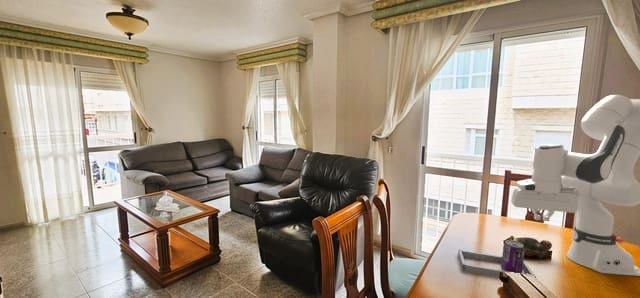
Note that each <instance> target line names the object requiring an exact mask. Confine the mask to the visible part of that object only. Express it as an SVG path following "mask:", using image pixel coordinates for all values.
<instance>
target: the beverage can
mask: <svg viewBox="0 0 640 298" xmlns="http://www.w3.org/2000/svg"><path fill="white" fill-rule="evenodd" d="M501 256H502V263H501V270H504V271H510V272H516V273H522V274H523V272H524V269H523V263H524V261H525V249H524V245H523V244H522V243H520V242H517V241H516V240H512V239H506V240H505V241H504V243H503V246H502V255H501Z"/></svg>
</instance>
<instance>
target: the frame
mask: <svg viewBox="0 0 640 298" xmlns="http://www.w3.org/2000/svg"><path fill="white" fill-rule="evenodd" d="M457 254H458V260H459V263H460V266H461V270H462V271H465V272H469V273H470V272H471V273H477V274H480V275H481V274H482V275H488V276H493V277H498V278H500V277H499V273H500V272H510V271H505V270H504V269H497V268H492V267H486V266H480V265H474V264H469V263H466V262H465V259H464V258H469V259H477V260H481V261H482V260H483V261H488V262H495V263H500V264H502V255H501V256H500V255H495V254H489V253H482V252H476V251H470V250H464V249H458V253H457ZM523 272H524V273H525V274H526V273H528V274H530V275H532V276H534V277H535V278H536V279H537V276H536V275H535V273H534V271H532V269H531V267H530V266H529V265H528V264H527V262H526V261H525V260H524V263H523ZM514 273H516V272H514Z"/></svg>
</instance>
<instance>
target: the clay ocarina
mask: <svg viewBox="0 0 640 298" xmlns="http://www.w3.org/2000/svg"><path fill="white" fill-rule="evenodd" d="M515 241H517V242H520V243H522V244H523V245H524V249H525V253H524V255H525V256H526V257H527V258H531V257H533V256H536V258H537V259H539V260H542V259H543V258H544V257H545V254H546V252H549V251H550V250H551V249H552V247H553V245H552V242H551V241H549V240H546V239H542V240H540V241H538V239H536V238H532V237H519V238H517V239H516V240H515Z"/></svg>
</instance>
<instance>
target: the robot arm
mask: <svg viewBox="0 0 640 298" xmlns="http://www.w3.org/2000/svg"><path fill="white" fill-rule="evenodd" d="M580 127H581V131H583V132H584V133H585V134H586V135H587V136H588V137H589V138H592V139H593V140H597V141H601V143H600V145H599V148H598V149H597V151H596V152H595V153H587V154H586V153H579V152H572V151H567V150H566V149H565V148H564V145H563V144H561V143H557V142H555V143H553V142H552V143H551V142H550V143H542V144H540V145H538V146H537V148H536V149H535V153H534V156H533V161H532V162H533V164H532V167H533V172H532V175H531V178H528V179H523V180H518V181H516V183H515V184H516V187H515V188H514V189H513V192H512V196H511V204H512V205H513V206H514V207H516V208H520V209H530V210H531V211H532V214H534V216H533V219H534V220H536V221H541V217H542V221H544V222H550V219H551V217H552V216H553V215H554V214H555V212H560V213H561V212H562V213H570V214H575V213H576V220H575V226H573V232H572V242H571V245H570V248H569V249H568V251H567V253H566V257H567V258H568V259H569V260H570V261H572V262H574V263H576V264H578V265H580V266H583V267H586V268H589V269H591V270H594V271H596V272H598V273H601V274H610V275H611V274H612V275H622V276H634V277H635V276H637V277H640V268H639V267H638V266H637V265H635V259H634V257H633V255H631V254H630V253H629V252H628V251H627V250H625V249H624V248H623V247H622V246H620V245H619V244H623V243H624V239H623V238H621V237H620V236H616V235H615V234H613V229H614V221H615V218H614V215H613V214H612V213H611V212H610V211H609V210H607V209H606V208H605V207H604V205H602V203H601V202H604V203H608V204H612V205H615V206H624V207H625V206H626V207H634V206H637V205H639V204H640V182H638V180H637V179H636V177H635V175H634V167H635V165H636V163H637V161H638V159H639V157H640V99H639V98H628V97H627V96H624V95H621V94H611V95H608V96H605V97H604V98H602V99H601V100H600V101H598V102H597V103H596V104H594V106H593V107H592V108H590V109H589V110H588V111H587V112H586V114H584V116H583V117H582V119H581V122H580ZM539 210H543V211H547V213H546V215H542V216H541V215H540V214H538V212H539ZM618 243H619V244H618Z"/></svg>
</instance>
